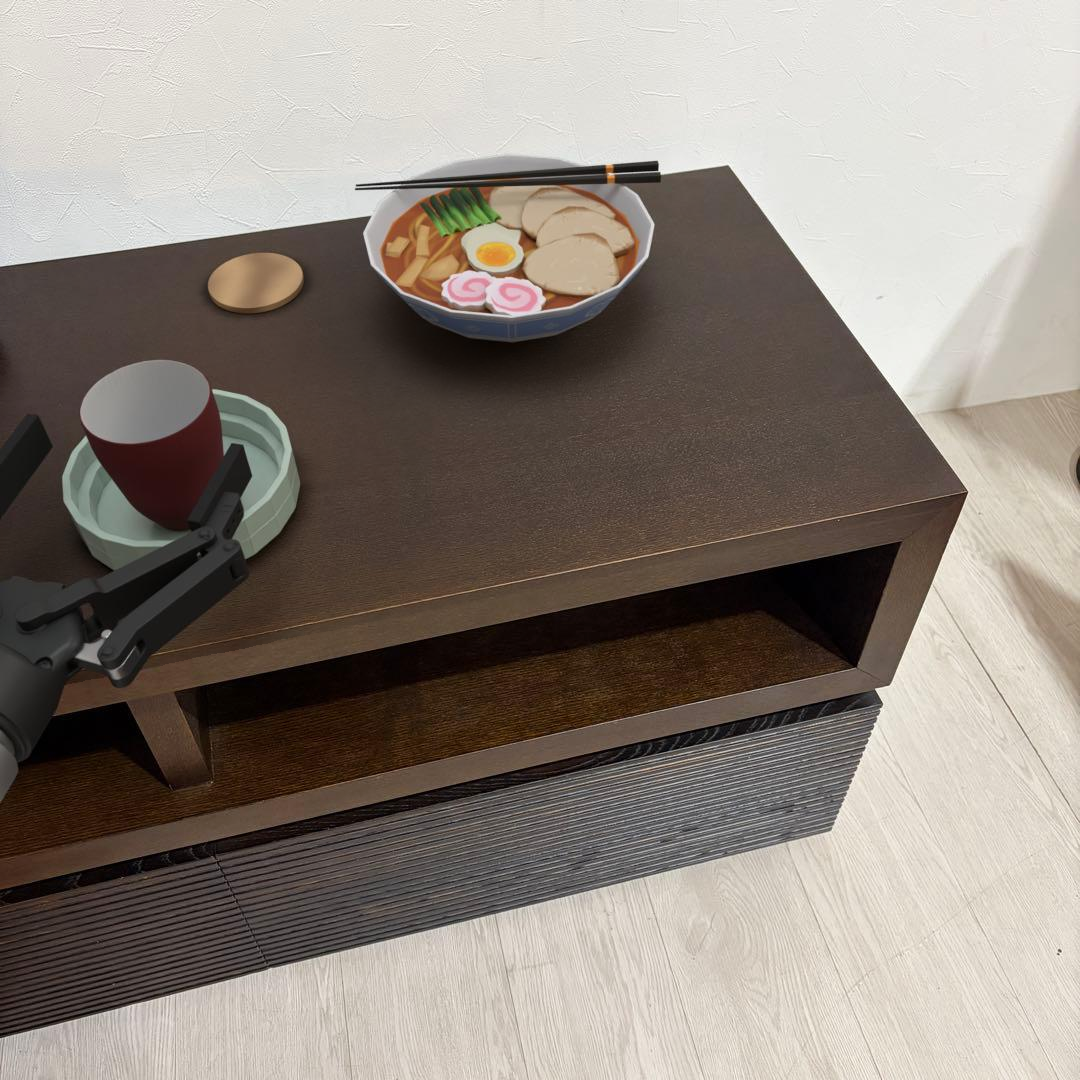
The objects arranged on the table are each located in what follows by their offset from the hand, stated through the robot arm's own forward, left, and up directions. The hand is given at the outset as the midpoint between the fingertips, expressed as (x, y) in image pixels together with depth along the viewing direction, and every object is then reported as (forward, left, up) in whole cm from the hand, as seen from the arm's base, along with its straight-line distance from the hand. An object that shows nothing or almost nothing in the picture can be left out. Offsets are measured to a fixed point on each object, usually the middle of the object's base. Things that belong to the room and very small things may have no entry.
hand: (140, 444), depth 68 cm
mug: (-1, +3, -8) cm, 9 cm away
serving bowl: (-1, +3, -8) cm, 9 cm away
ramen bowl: (+9, +33, -9) cm, 35 cm away
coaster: (-12, +26, -8) cm, 30 cm away
